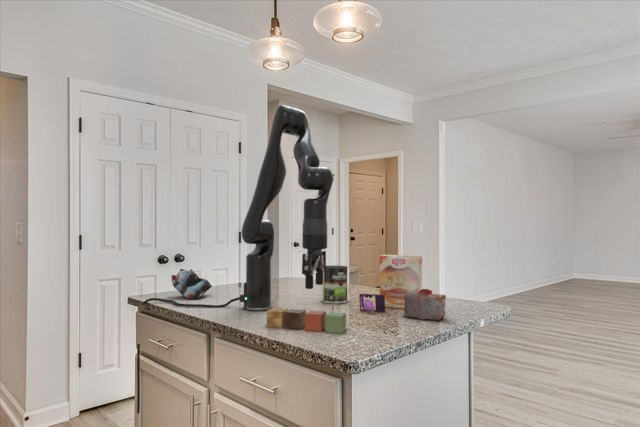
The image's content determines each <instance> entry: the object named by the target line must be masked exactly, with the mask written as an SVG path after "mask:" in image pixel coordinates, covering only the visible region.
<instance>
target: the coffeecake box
mask: <svg viewBox="0 0 640 427" xmlns="http://www.w3.org/2000/svg"><path fill="white" fill-rule="evenodd" d="M422 289H423V256H422V255H409V254H408V255H406V254H380V255H379V295H385V308H392V309H404V310H405V300H404V295H405V293H407V292H408V291H410V292H419V291H420V290H422Z"/></svg>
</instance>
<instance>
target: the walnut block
mask: <svg viewBox="0 0 640 427" xmlns="http://www.w3.org/2000/svg"><path fill="white" fill-rule="evenodd" d="M305 313H307V310H306V309H297V308H290V309H288V311H286V312H285V326H284V329H287V330H296V331H297V330H298V331H300V330H302V329H305Z"/></svg>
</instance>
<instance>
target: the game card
mask: <svg viewBox="0 0 640 427" xmlns="http://www.w3.org/2000/svg"><path fill="white" fill-rule="evenodd" d="M373 297H374V303H375V306H374V304H373V301H371V300H370V299H372V298H373ZM358 298H359V310H360V311H362V312H371V313H372V314H374V313H375V312H378V313H386V307H385V295H380V293H378V294H377V293H359V295H358ZM368 298H369V299H368ZM364 299H365V300H364Z"/></svg>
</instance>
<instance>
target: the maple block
mask: <svg viewBox="0 0 640 427" xmlns="http://www.w3.org/2000/svg"><path fill="white" fill-rule="evenodd" d="M288 310H289V308H285V307H284V308H282V307H271V309H268V310H266V328H275V329H283V328H285V312H286V311H288Z"/></svg>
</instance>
